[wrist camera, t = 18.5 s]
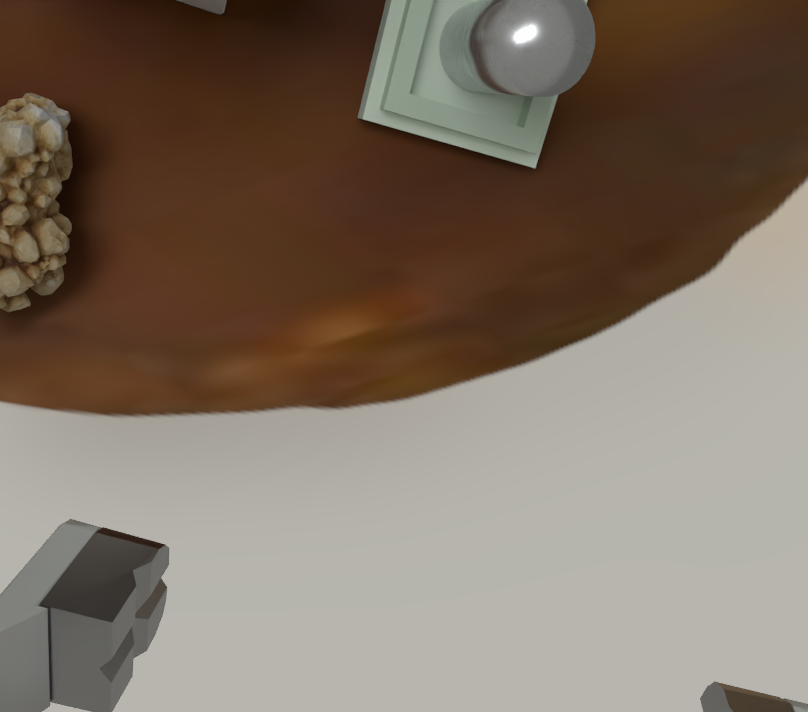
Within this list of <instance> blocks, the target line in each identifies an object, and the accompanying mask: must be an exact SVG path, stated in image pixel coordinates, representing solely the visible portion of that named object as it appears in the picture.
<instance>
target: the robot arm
mask: <svg viewBox="0 0 808 712" xmlns="http://www.w3.org/2000/svg"><path fill="white" fill-rule="evenodd" d="M168 565H169V547H167V546H166V545H165V544H161V543H157V542H154V541H150V540H146V539H143V538H139V537H135V536H132V535H129V534H125V533H121V532H118V531H113V530H110V529H107V528H100V527H97V526H93V525H90V524H86V523H83V522H79V521H76V520H72V519H70V520H68V521H66V522H65V523H63V524H61V525H60V526H59V527H58V528H57V529H56V530H55V532H54V533H53V534H52V535H51V536H50V538H49V539H48V540H47V541H46V542H45V543H44V544H43V546H42V547H41V548H40V549H39V550H38V551H37V553H36V554H35V555H34V556H33V557H32V558H31V560H30V561H29V562H28V563H27V564H26V565H25V567H24V568H23V569H22V570H21V571H20V572H19V574H18V575H17V576H16V577H15V578H14V579H13V580H12V582H11V583H10V584H9V585H8V587H6V589H5V590H4V591H3V592H2V593H1V595H0V712H42V711H43V710H45V709H46V708H48V707H49V706H50V702H53V703H57V704H61V705H66V706H71V707H74V708H79V709H83V710H88V711H92V712H112V711H113V709H114V708H115V706H116V704H117V702H118V700H119V699H120V697H121V695H122V693H123V692H124V690H125V688H126V686H127V685H128V683H129V681H130V679H131V677H132V672H133V658H135V657H136V656H138V655H140V654H142V653H144V652H145V651H147V649H148V647H149V645H150V643H151V641H152V640H153V637H154V636H155V634H156V631H157V629H158V626H159V623H160V621H161V618H162V615H163V611H164V606H165V602H166V593H167V586H166V585H165V583H164V582H163V580H162V579H161V577H162V575H163V574H164V572H165V570H166V569H167V567H168ZM700 700H701V704H702V708H703V711H704V712H808V704H805V703H801V702H797V701H793V700H788V699H781V698H780V697H776V696H771V695H768V694H764V693H759V692H755V691H751V690H747V689H743V688H739V687H734V686H730V685H726V684H721V683H718V682H714V683H712V684H711V685H709V686H708V687H707V688H706V690H705V691H704V693H703V695H702V696H701V698H700Z"/></svg>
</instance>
